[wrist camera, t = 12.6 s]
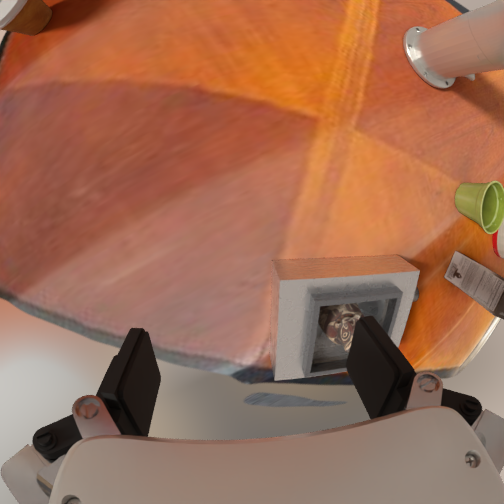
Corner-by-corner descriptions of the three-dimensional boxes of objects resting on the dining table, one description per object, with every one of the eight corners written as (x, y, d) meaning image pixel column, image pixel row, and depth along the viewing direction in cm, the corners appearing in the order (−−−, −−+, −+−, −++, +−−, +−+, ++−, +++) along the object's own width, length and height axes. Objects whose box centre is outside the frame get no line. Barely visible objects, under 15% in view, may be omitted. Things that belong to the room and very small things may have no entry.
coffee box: (474, 260, 44) (523, 291, 29) (463, 286, 46) (509, 321, 31) (454, 249, 43) (510, 282, 28) (442, 278, 45) (493, 316, 30)
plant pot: (476, 174, 38) (507, 181, 30) (475, 219, 41) (503, 231, 33) (449, 173, 38) (482, 180, 29) (447, 223, 41) (478, 237, 33)
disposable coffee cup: (55, -5, 20) (25, -27, 8) (62, 17, 23) (28, -5, 11) (20, 26, 20) (-14, 12, 9) (25, 52, 24) (-14, 38, 12)
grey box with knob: (410, 254, 42) (440, 274, 34) (389, 337, 48) (410, 364, 40) (272, 260, 40) (282, 287, 32) (269, 353, 47) (276, 389, 38)
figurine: (353, 284, 42) (387, 325, 31) (355, 319, 44) (384, 362, 33) (312, 296, 42) (336, 342, 31) (317, 331, 44) (338, 379, 33)
